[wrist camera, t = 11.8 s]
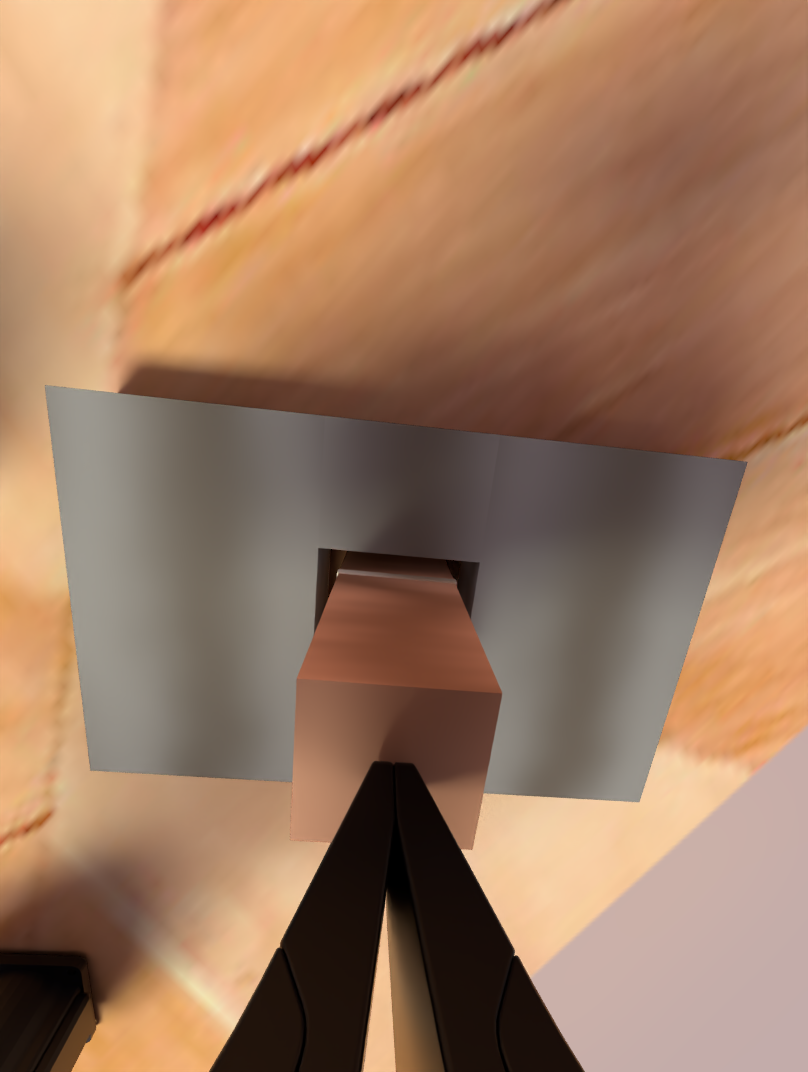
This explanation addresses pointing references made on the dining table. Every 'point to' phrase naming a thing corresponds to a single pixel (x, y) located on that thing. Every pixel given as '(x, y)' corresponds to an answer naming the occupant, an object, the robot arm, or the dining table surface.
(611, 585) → the board
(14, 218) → the dining table surface
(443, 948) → the robot arm
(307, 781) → the peg
